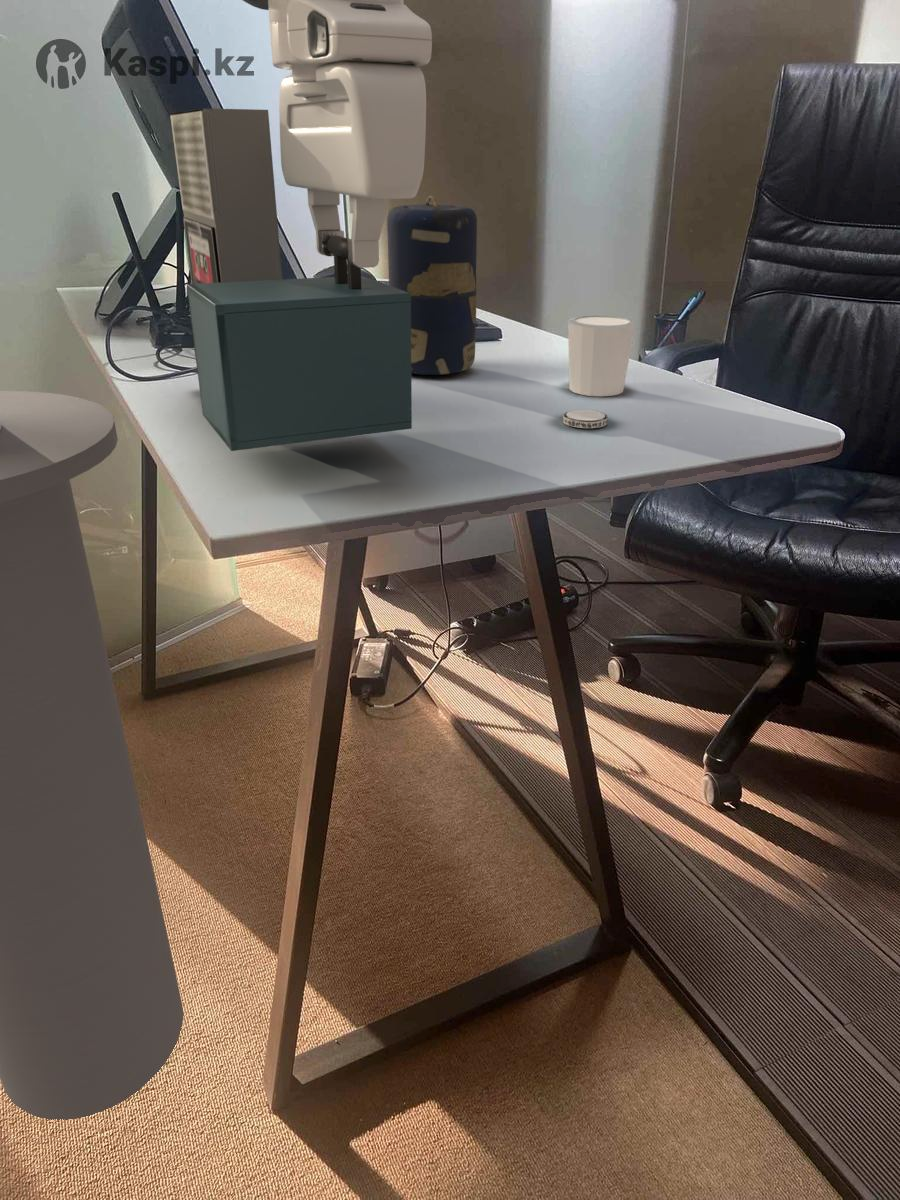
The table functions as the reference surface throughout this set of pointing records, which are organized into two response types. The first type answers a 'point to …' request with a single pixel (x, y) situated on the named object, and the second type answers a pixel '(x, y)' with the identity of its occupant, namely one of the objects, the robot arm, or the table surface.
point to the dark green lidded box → (303, 356)
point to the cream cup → (599, 354)
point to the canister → (436, 282)
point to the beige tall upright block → (227, 194)
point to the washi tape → (585, 419)
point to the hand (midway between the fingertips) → (346, 260)
